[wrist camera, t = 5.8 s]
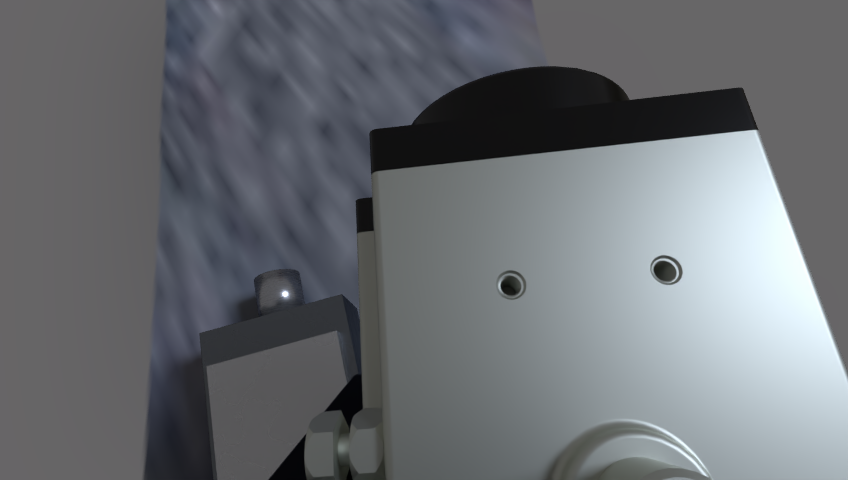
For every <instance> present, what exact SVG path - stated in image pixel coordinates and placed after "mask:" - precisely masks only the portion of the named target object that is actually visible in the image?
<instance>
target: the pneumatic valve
mask: <svg viewBox="0 0 848 480" xmlns="http://www.w3.org/2000/svg"><path fill="white" fill-rule="evenodd" d="M369 136H370V157H371V179H372V197H371V198H362V199H358V200H356V220H357V250H358V280H359V311H360V341H361V372H362V402H363V409H362V410H361V411H359V412H358V413H356V414H355V415H354V416H353V419H352V422H351V427H350V433H349V427H348V425H347V423H346V420H345V418H344V416H343V413H342V411H341V410H338V411H326V412H322V413H320V414H319V415H317V416H316V417H314V418H313V419H312V420H311V422H310V424H309V426H308V430H307V434H306V440H305V452H304V461H305V472H306V478H307V480H346V478H347V475H348V471H349V468H350V470H351V475H352V479H353V480H848V371H847V368H846V365H845V363H844V360H843V357H842V355H841V352H840V349H839V346H838V344H837V341H836V339H835V336H834V333H833V331H832V328H831V325H830V322H829V320H828V317H827V314H826V311H825V309H824V306H823V303H822V301H821V298H820V295H819V292H818V290H817V287H816V284H815V282H814V280H813V276H812V274H811V271H810V268H809V266H808V263H807V260H806V258H805V255H804V252H803V249H802V247H801V244H800V241H799V239H798V236H797V233H796V230H795V228H794V225H793V222H792V220H791V217H790V214H789V211H788V209H787V206H786V203H785V201H784V198H783V195H782V193H781V190H780V187H779V185H778V182H777V179H776V176H775V174H774V171H773V168H772V166H771V163H770V160H769V157H768V155H767V152H766V150H765V147H764V144H763V141H762V139H761V136H760V133H759V131H758V128H757V125H756V122H755V120H754V117H753V114H752V112H751V109H750V106H749V104H748V101H747V98H746V96H745V93H744V90H743V88H732V89H723V90H714V91H706V92H697V93H688V94H679V95H670V96H662V97H653V98H644V99H635V100H629V98H628V96H627V94H626V93H625V92H624V90H623V89H622V88H621V87H620V86H619V85H617V84H616V83H614V82H613V81H612V80H610V79H608V78H606V77H604V76H602V75H599V74H597V73H594V72H590V71H586V70H582V69H578V68H569V67H568V68H567V67H556V66H541V67H529V68H521V69H515V70H510V71H505V72H501V73H496V74H493V75H490V76H486V77H483V78H480V79H477V80H475V81H472V82H469V83H467V84H465V85H463V86H461V87H458V88H456V89H454V90H452V91H451V92H449V93H447V94H445V95H444V96H442V97H440V98H439V99H438V100H436V101H435V102H433V103H432V104H431V105H429V106H428V107H427V108H426V109H425V110H424V111H422V113H421V114H420V115H419V116H418V117H417V118H416V119H415V120H414V122H413V123H412V125H408V126H399V127H390V128H382V129H374V130H372V131H371V132H370V133H369Z"/></svg>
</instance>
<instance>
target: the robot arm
mask: <svg viewBox="0 0 848 480" xmlns="http://www.w3.org/2000/svg"><path fill="white" fill-rule="evenodd" d="M362 409H363V402H362V374H356V375H354V376H353V377H352V378H351V379H350V380H349V382H348V383H347V384H346V385H345V387H344V388H343V389H342V390H341V391H340V393H339V394H338V395H337V396H336V398H335V399H334V400H333V401H332V402H331V404H330V405H329V406H328V407H327V409H326V410H325V411H324V412H326V411H338V410H341V411H342V413H343V416H344V418H345V420H346V423H347V425H348V427H349V433H350V427H351V422H352V419H353V416H354V415H355V414H356V413H358V412H359V411H361V410H362ZM306 434H307V433H306ZM306 434H305V435H304V437H303V438H302V439H301V440H300V442H299V443H298V444H297V445H296V446H295V448H294V449H293V450H292V451H291V452H290V454H289V455H288V456H287V457H286V459H285V460H284V461H283V462H282V463H281V465H280V466H279V467H278V468H277V470H276V471H275V472H274V473H273V474H272V476H271V477H270V478H269V479H268V480H307V478H306V472H305V461H304V452H305V440H306ZM346 480H353V479H352V475H351V470H350V468H349V471H348V475H347V478H346Z"/></svg>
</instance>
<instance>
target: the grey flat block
mask: <svg viewBox="0 0 848 480" xmlns="http://www.w3.org/2000/svg"><path fill="white" fill-rule="evenodd" d="M254 286H255V293H256V300H257V307H258V314H259V317H257V318H253V319H250V320H246V321H242V322H239V323H235V324H232V325H228V326H224V327H221V328H217V329H213V330H210V331H206V332H202V333H200V344H201V355H202V365H203V376H204V386H205V397H206V407H207V418H208V428H209V439H210V449H211V460H212V470H213V480H268V479H269V478H270V477H271V476H272V474H273V473H274V472H275V471H276V470H277V468H278V467H279V466H280V465H281V463H282V462H283V461H284V460H285V459H286V457H287V456H288V455H289V454H290V452H291V451H292V450H293V449H294V448H295V446H296V445H297V444H298V443H299V442H300V440H301V439H302V438H303V437H304V435H305V434H306V433H307V430H308V426H309V424H310V422H311V420H312V419H313V418H314V417H316V416H317V415H319V414H320V413H322V412H324V411H325V410H326V409H327V407H328V406H329V405H330V404H331V402H332V401H333V400H334V399H335V398H336V396H337V395H338V394H339V393H340V391H341V390H342V389H343V388H344V387H345V385H346V384H347V383H348V382H349V380H350V379H351V378H352V377H353V376H354V375H356V374H362V372H361V341H360V320H359V316H358V311H357V308H356V307H355V306H354V305H353V304H352V303H351V302H350V301H349V300H348V299H346V298H345V297H344V296H343V295H342V294H341V295H337V296H334V297H330V298H326V299H323V300H319V301H315V302H312V303H308V304H305V301H304V296H303V290H302V284H301V279H300V273H299V272H298V271H296V270H292V269H280V270H273V271H269V272H266V273H263V274H260V275H259V276H257V277H256V278H255V279H254Z"/></svg>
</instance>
